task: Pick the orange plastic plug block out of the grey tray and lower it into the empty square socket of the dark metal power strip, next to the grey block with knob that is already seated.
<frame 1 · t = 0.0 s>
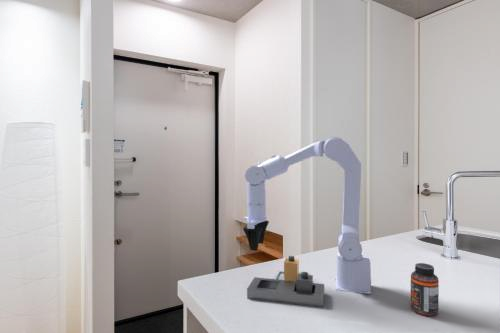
hand: (256, 246, 95), 10 cm above the table, fingers open, 7 cm apart
supplement bottle: (424, 311, 74), on the table
grey block with knob: (304, 299, 81), resting in strip
strip: (286, 297, 82), on the table
tray: (291, 281, 92), on the table
plug: (291, 279, 92), resting on tray
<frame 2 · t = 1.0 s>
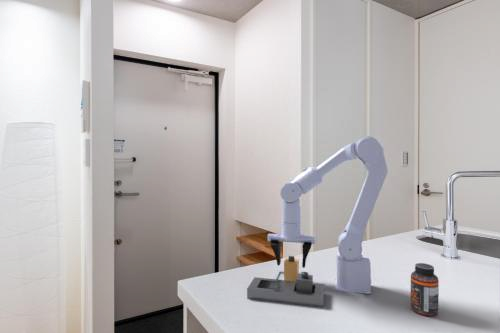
hand: (291, 265, 92), 5 cm above the table, fingers open, 7 cm apart
nothing on the table moved.
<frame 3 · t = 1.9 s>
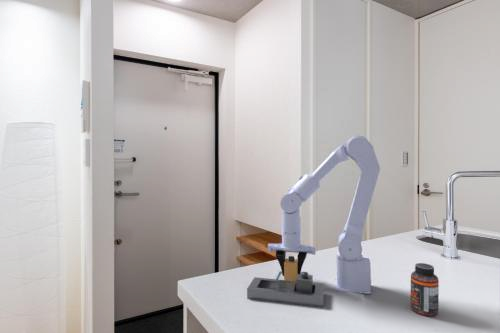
hand: (291, 275, 92), 2 cm above the table, fingers closed on plug, 4 cm apart
plug: (291, 279, 92), resting on tray, touching gripper
everything else where it was.
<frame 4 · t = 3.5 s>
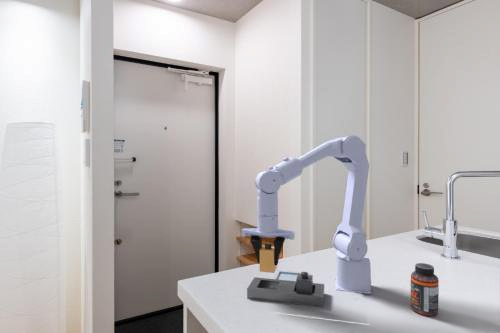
hand: (268, 263, 83), 9 cm above the table, fingers closed on plug, 4 cm apart
plug: (268, 269, 83), point 7 cm above the table, touching gripper
everything else where it was.
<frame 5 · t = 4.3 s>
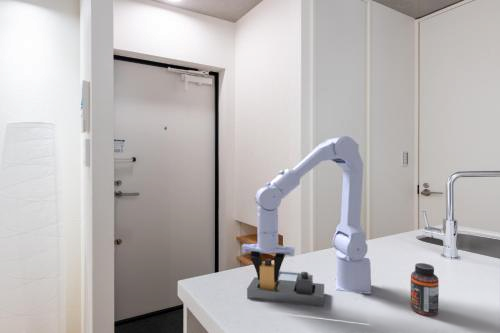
hand: (268, 279, 83), 4 cm above the table, fingers closed on plug, 4 cm apart
plug: (268, 285, 83), point 3 cm above the table, touching gripper
everything else where it was.
when the fingers open (3 cm above the table, at t = 4.9 s): plug drops 2 cm, resting in strip.
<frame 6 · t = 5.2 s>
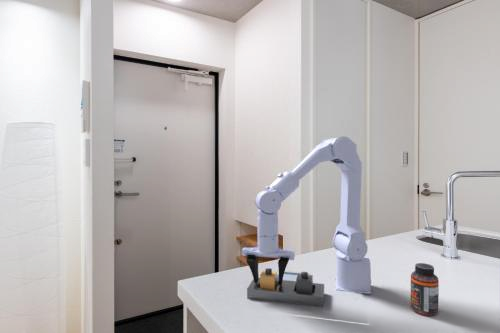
hand: (268, 283, 83), 3 cm above the table, fingers open, 6 cm apart
plug: (268, 294, 83), resting in strip
everything else where it was.
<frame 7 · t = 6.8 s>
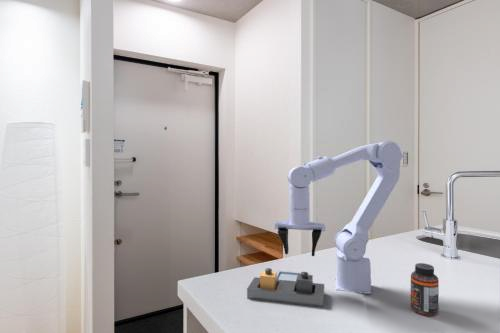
hand: (299, 254, 88), 10 cm above the table, fingers open, 7 cm apart
nothing on the table moved.
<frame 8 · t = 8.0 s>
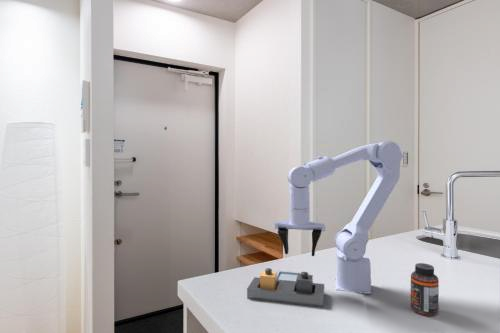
hand: (299, 254, 88), 10 cm above the table, fingers open, 7 cm apart
nothing on the table moved.
at the end: plug 0.3 cm from the target spot on the strip, point 0.0 cm above the strip's base; plug tilted 0°; the gripper is holding nothing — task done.
